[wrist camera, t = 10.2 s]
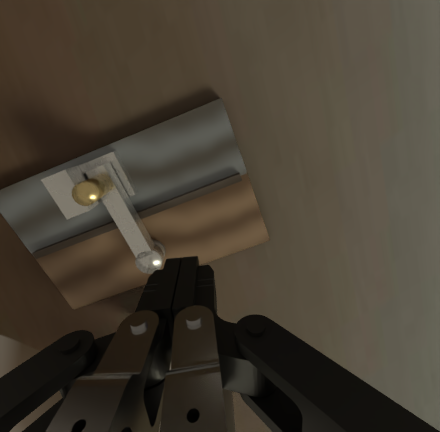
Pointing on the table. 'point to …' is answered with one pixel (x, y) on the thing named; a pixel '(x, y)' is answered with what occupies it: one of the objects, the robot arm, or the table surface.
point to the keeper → (68, 178)
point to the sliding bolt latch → (145, 207)
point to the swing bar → (120, 214)
